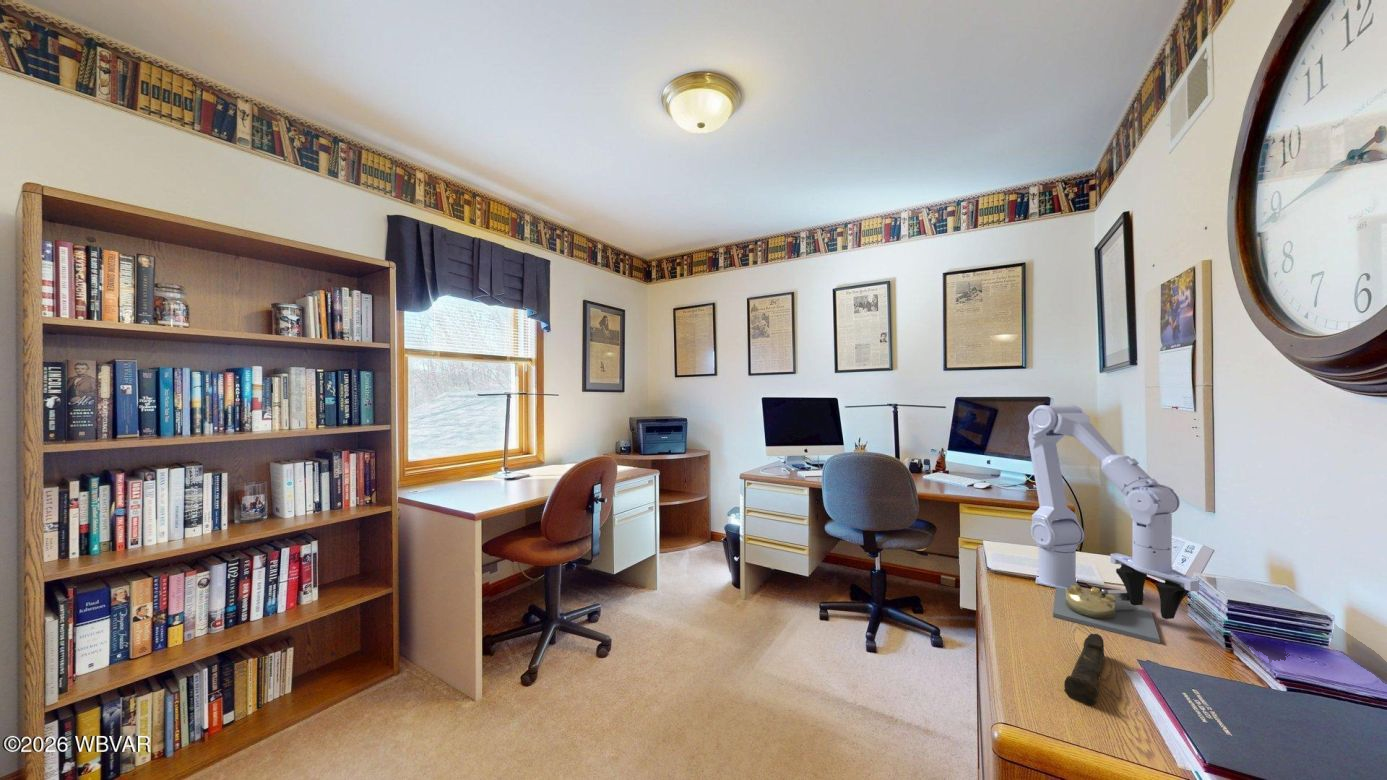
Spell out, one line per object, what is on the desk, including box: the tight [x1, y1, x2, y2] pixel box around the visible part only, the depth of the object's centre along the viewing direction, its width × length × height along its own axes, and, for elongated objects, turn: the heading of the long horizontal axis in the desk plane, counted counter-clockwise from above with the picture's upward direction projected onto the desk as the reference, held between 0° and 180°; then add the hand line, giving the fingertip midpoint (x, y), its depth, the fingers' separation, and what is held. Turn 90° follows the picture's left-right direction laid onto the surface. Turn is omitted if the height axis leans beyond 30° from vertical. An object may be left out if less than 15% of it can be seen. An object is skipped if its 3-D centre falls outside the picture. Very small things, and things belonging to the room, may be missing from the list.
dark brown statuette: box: [1063, 633, 1105, 706], centre depth 78 cm, size 19×4×5 cm, turn 130°
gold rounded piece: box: [1066, 584, 1138, 619], centre depth 99 cm, size 14×8×4 cm, turn 93°
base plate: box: [1052, 587, 1161, 644], centre depth 99 cm, size 16×16×1 cm
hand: (1151, 610), depth 94 cm, fingers open, 5 cm apart
